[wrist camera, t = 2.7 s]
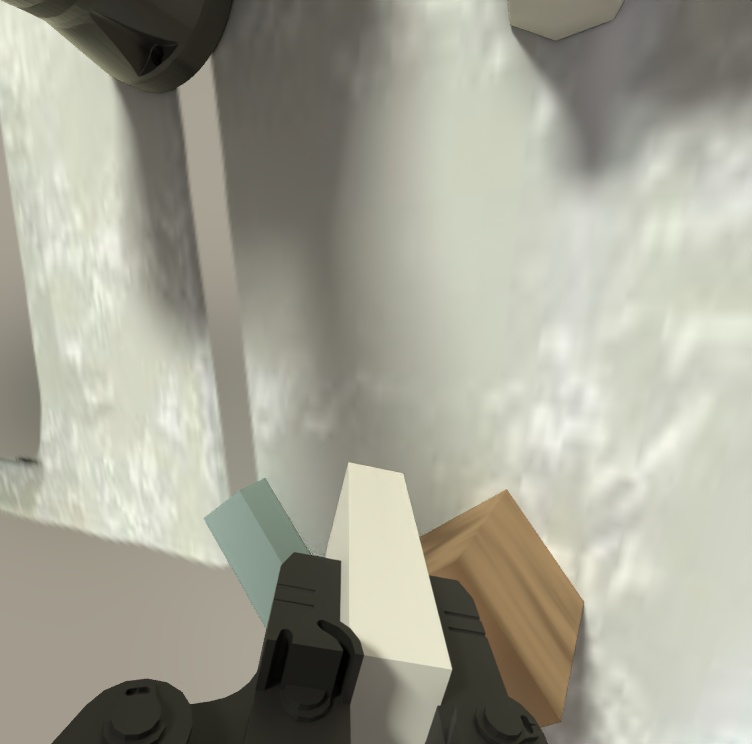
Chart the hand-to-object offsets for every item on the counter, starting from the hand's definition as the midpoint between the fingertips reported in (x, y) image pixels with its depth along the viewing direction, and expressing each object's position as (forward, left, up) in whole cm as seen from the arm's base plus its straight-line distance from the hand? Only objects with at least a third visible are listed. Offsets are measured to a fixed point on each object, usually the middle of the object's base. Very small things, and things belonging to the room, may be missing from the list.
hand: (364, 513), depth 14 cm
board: (-7, -23, -20) cm, 31 cm away
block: (+4, -12, -20) cm, 24 cm away
